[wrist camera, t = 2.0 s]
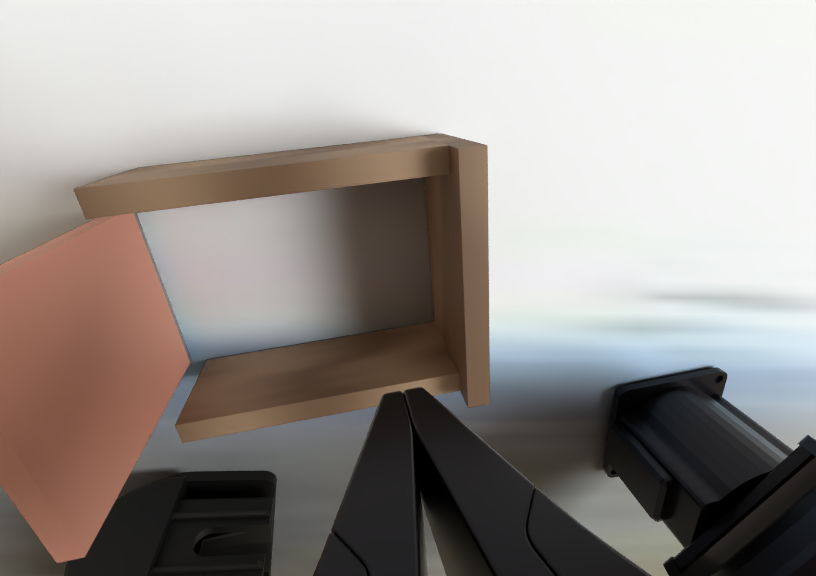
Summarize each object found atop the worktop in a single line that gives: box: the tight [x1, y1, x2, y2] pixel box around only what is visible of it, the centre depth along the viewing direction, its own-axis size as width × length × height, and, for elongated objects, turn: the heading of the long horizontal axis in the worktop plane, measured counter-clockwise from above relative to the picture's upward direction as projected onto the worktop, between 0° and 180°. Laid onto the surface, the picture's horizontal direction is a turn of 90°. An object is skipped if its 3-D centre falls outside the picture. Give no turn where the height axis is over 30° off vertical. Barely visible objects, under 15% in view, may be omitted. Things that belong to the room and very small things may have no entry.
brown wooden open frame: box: [73, 134, 490, 443], centre depth 14 cm, size 11×9×5 cm
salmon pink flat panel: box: [0, 213, 192, 563], centre depth 12 cm, size 1×7×9 cm, turn 5°
